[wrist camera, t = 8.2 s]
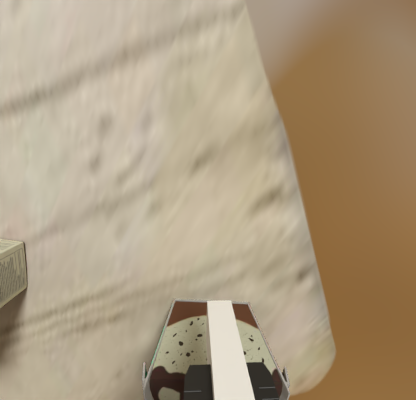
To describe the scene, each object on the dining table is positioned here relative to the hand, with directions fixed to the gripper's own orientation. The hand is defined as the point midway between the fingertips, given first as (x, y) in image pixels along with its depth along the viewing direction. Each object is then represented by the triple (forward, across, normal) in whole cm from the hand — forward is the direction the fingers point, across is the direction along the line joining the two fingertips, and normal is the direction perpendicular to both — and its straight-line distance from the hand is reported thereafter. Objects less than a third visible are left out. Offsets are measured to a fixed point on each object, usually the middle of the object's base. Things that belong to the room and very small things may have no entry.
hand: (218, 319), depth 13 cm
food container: (+11, 0, -10) cm, 15 cm away
